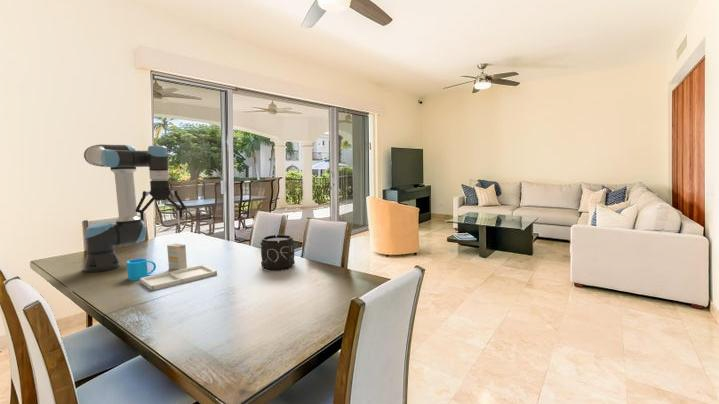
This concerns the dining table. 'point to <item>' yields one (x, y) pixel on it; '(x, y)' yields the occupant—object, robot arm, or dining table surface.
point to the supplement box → (177, 256)
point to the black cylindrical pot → (277, 252)
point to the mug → (138, 268)
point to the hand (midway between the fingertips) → (162, 225)
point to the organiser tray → (177, 277)
